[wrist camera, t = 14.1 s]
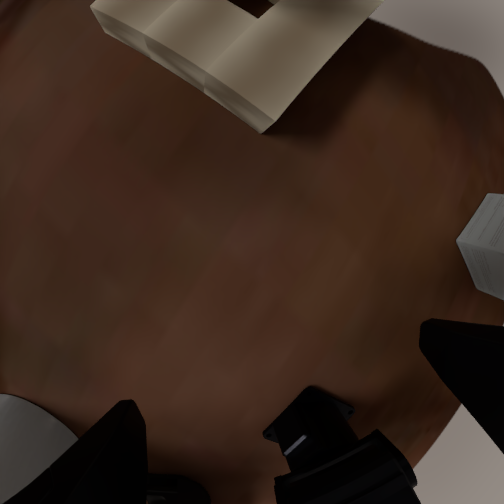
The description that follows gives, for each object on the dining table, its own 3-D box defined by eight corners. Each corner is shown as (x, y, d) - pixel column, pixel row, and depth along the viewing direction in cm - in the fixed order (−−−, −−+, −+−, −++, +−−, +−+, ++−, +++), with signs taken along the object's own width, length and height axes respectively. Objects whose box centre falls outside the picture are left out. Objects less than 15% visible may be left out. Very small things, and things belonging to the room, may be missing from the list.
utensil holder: (113, 437, 22) (84, 603, 5) (89, 498, 23) (72, 609, 6) (-19, 361, 18) (-112, 475, 1) (-14, 442, 20) (-62, 536, 3)
